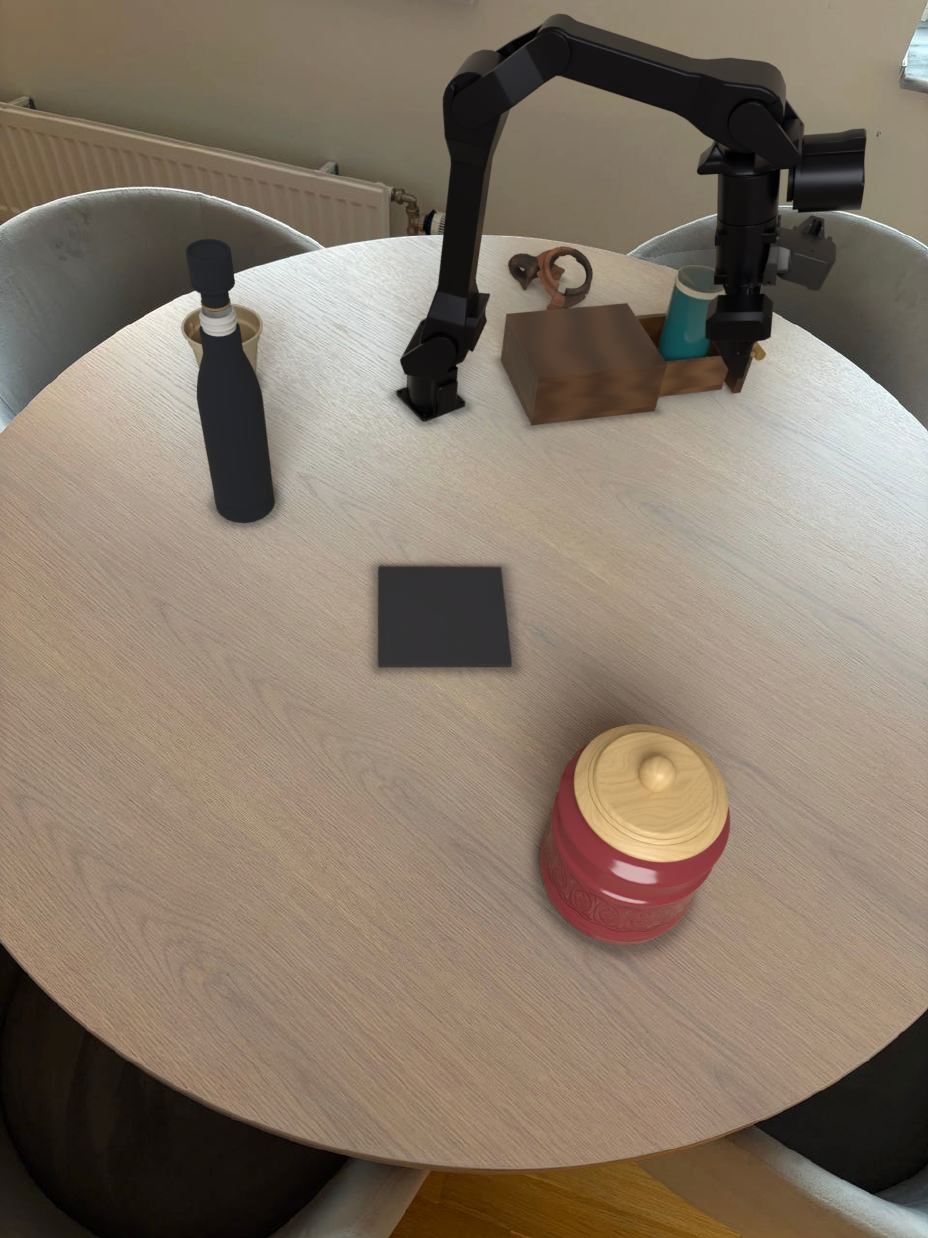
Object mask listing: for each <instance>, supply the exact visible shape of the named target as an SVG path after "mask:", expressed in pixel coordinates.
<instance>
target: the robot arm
mask: <svg viewBox="0 0 928 1238" xmlns="http://www.w3.org/2000/svg"><path fill="white" fill-rule="evenodd" d="M556 77H561V78H564V79H567V80H571V81H574V82H577V83H581V84H583V85H586V86H589V87H593V88H595V89H598V90H602V91H605V92H608V93H612V94H615V95H618V96H621V97H624V98H626V99H630V100H632V101H637V102H639V103H643V104H645V105H648V106H652V107H654V108H658V109H661V110H664V111H668V112H670V113H673V114H675V115H678V116H679V117H681V118H683V119H685V120H686V121H687V122H688V123H689V124H691V125H692V126H693V127H694V128H695V129H696V130H698V132H700V133H701V134H702V135H704V136H705V137H706V138H708V139H711V140H712V142H711V145H710V146H709V147H707V148H706V150H704V151H703V152H702V153H701V154H700V155H699V159H698V164H697V167H696V173H697V175H699V176H708V175H717V198H716V199H717V201H716V202H717V203H716V204H717V205H716V206H717V207H716V226H715V227H716V228H715V233H714V247H715V248H716V249H715V252H716V253H715V260H716V261H715V267H714V269H715V273H714V285H723V287H724V290H725V293H726V295H718V296H716V297H715V298H714V299H713V300H712V301H711V302H710V303H709V304H708V310H707V315H706V321H705V338H706V339H708V340H710V341H712V342H713V344H714V345H715V347H716V349H717V350H718V352H719V354H720V355H721V357H722V359H723V361H724V363H725V365H726V367H727V368H728V370H729V372H730V374H731V376H732V378H733V379H742V378H744V375H745V371H746V368H747V365H748V361H749V358H750V355H751V352H752V349H753V346H754V344H755V343H756V342H761V341H766V340H768V339H770V338H772V328H773V317H774V303H775V302H774V301H773V300H772V299H771V298H770V297H769V296H768V295H767V294H766V293H762V286H764V287H769V286H772V287H773V286H777V278H779V279H781V280H783V281H786V282H790V283H793V284H797V285H800V286H803V287H806V289H807V290H809V291H812V292H818V291H821V290H822V289H823V286H824V284H825V282H826V280H827V279H828V277H829V275H830V273H831V271H832V269H833V267H834V265H835V264H836V262H837V245H836V243H835V242H834V241H833V236H831V235H828V236H827V238H826V227H825V226H826V225H825V221H826V220H825V218H823V217H819V216H817V215H814V214H811V215H810V216H808V217H807V218H805V220H803V221H802V222H801V223H800V224H799V225H798V226H796V225H793V227H792V228H788V227H787V228H786V227H782V214H779V212H780V211H779V205H780V203H779V202H780V188H781V173H782V170H783V171H784V170H787V185H786V186H787V187H786V197H785V198H786V200H785V203H792V211H797V214H803V213H804V214H805V213H823V212H824V213H827V212H845V211H861V209H862V205H863V200H864V199H863V198H864V191H865V186H866V185H865V183H866V174H865V173H866V172H865V171H866V170H865V161H866V147H867V145H866V144H867V139H868V138H867V137H868V136H867V129H865V127H864V128H863V127H862V128H852V129H848V130H844V131H839V132H825V133H813V134H805V128H806V127H805V123H804V122H803V120H802V118H801V117H800V116H799V114H798V112H796V110H795V109H794V107H793V106H792V105H791V103H790V101H789V100H788V99H787V84H786V81H785V79H784V76H783V74H782V72H781V70H780V69H778V67H777V66H775V65H773V64H772V63H769V62H767V61H763V60H754V59H746V58H739V57H737V58H735V57H720V58H709V59H707V58H706V59H705V58H697V57H692V56H691V57H690V56H688V55H684V54H681V53H678V52H675V51H673V50H668V49H666V48H662V47H659V46H657V45H653V44H650V43H648V42H644V41H640V40H638V39H634V38H631V37H628V36H625V35H622V34H618V33H616V32H613V31H609V30H607V29H603V28H601V27H598V26H593V25H590V24H588V23H584V22H582V21H578V20H577V19H575V18H573V17H572V16H571V15H569V14H566V13H555V14H552V15H550V16H549V17H547V19H545V20H544V21H543V22H542V23H541V24H539V25H538V26H536V27H534V28H532V29H530V30H528V31H526V32H524V33H522V34H520V35H518V36H517V37H514V38H512V39H511V40H510V41H508V42H507V43H505V44H503V45H502V46H500V47H499V48H497V49H496V50H493V49H480V50H477V51H474V52H472V53H471V54H470V55H469V56H468V57H467V58H466V59H465V60H464V61H463V63H462V64H461V65H460V67H459V69H457V71H456V72H455V74H454V75H453V77H452V78H451V79H450V81H449V82H448V83H447V85H446V87H445V89H444V91H443V95H442V117H443V118H442V119H443V133H444V134H443V135H444V141H445V143H446V147H447V151H448V154H449V159H450V167H449V177H448V187H447V196H446V206H445V213H444V214H445V216H444V222H443V223H444V224H443V232H442V233H443V234H442V243H441V253H440V260H439V261H440V262H439V272H438V280H437V288H436V290H435V292H434V295H433V297H432V301H431V304H430V306H429V309H428V311H427V314H426V317H424V318H423V319H422V320H420V322H419V324H418V325H417V327H416V329H415V331H414V332H413V335H412V336H411V338H410V339H409V342H408V344H407V346H406V347H405V348H404V349H405V350H404V351H403V353H402V355H401V357H400V359H399V362H400V365H401V369H402V371H403V374H404V375H405V376H406V387H403V388H400V389H398V390H396V397H397V398H398V399H399V400H400V401H401V402H402V403H403V404H404V405H405V406H406V408H408V409H409V410H410V411H411V412H412V413H413V414H414V415H415V416H416V417H417V418H418V419H419V420H420V421H421V422H428V421H431V420H433V419H436V418H438V417H441V416H443V415H447V414H449V413H451V412H454V411H457V410H459V409H463V408H465V406H466V401H465V399H463V398H462V397H461V396H460V395H459V394H458V387H459V382H458V375H459V367H458V366H457V365H459V364H462V363H463V362H464V361H465V360H466V358H467V356H468V353H469V352H471V353H473V352H474V351H475V349H476V347H477V344H478V342H479V340H480V338H481V336H482V333H483V331H484V329H485V327H486V325H487V322H488V318H487V315H486V313H487V311H486V310H487V306H488V303H489V300H490V297H491V293H489V292H480V290H479V287H478V284H477V273H478V267H479V258H480V252H481V247H482V246H481V245H482V238H483V231H484V223H485V217H486V216H485V215H486V208H487V204H488V203H487V202H488V195H489V190H490V189H489V188H490V180H491V175H492V174H491V173H492V167H493V159H494V157H495V152H496V150H497V147H498V144H499V143H500V139H501V137H502V133H503V131H504V129H505V125H506V123H507V121H508V117H509V114H510V111H511V109H513V108H514V107H516V106H517V105H518V104H519V103H521V102H523V100H525V99H527V97H528V96H530V95H531V94H532V93H534V92H535V91H536V90H538V89H539V88H540V87H542V86H543V85H544V84H546V83H548V82H549V81H550V80H553V79H554V78H556Z"/></svg>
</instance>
